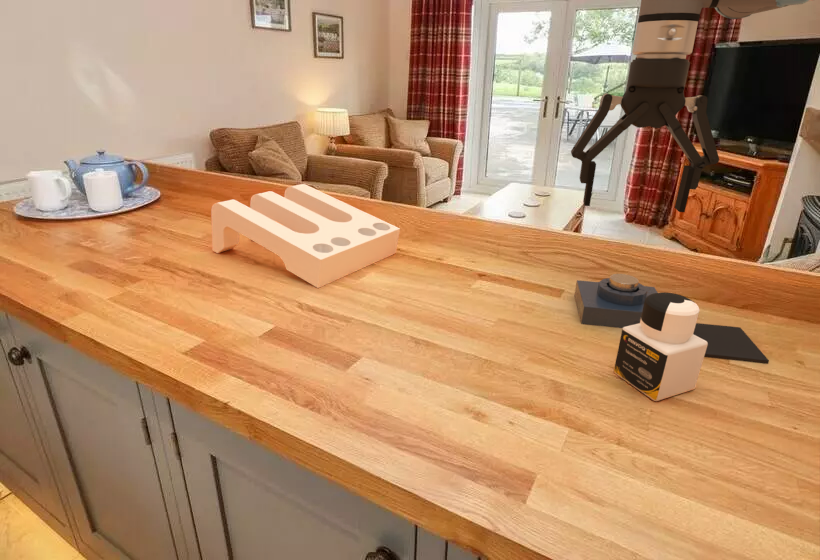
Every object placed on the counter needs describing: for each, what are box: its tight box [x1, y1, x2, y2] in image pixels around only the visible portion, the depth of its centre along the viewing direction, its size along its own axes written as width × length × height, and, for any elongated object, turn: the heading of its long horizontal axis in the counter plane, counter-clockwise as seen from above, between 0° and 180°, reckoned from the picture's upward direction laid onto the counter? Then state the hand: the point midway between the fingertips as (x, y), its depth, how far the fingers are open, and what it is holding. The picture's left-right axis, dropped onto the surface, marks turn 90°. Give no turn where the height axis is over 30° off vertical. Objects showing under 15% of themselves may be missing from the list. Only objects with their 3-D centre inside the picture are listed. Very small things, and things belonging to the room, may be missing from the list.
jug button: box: [608, 273, 640, 293], centre depth 81 cm, size 4×4×2 cm
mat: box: [693, 322, 770, 365], centre depth 74 cm, size 10×10×1 cm
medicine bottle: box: [613, 292, 708, 402], centre depth 62 cm, size 7×7×12 cm
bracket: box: [210, 183, 401, 289], centre depth 107 cm, size 24×12×32 cm
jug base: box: [574, 277, 659, 329], centre depth 82 cm, size 13×11×5 cm
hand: (631, 207), depth 76 cm, fingers open, 13 cm apart
